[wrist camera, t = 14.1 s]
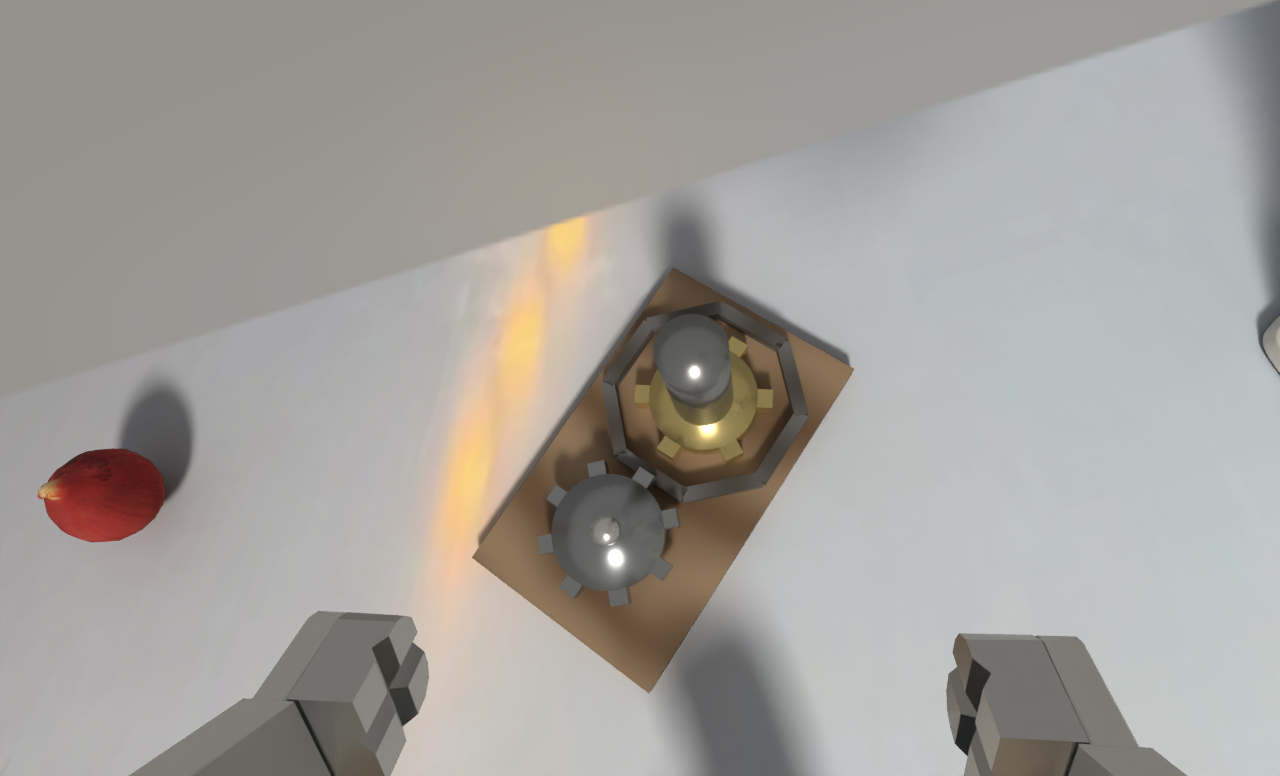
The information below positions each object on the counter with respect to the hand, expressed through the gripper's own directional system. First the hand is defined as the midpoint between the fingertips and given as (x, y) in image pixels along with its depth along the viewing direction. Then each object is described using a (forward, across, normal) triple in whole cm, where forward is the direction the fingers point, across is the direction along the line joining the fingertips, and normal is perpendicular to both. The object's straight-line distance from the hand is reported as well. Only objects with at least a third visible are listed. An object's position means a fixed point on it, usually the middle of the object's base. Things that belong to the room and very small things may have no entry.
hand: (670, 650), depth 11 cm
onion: (+26, +39, +18) cm, 50 cm away
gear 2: (+30, +1, +13) cm, 32 cm away
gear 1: (+24, +7, +19) cm, 31 cm away
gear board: (+28, +4, +17) cm, 33 cm away
